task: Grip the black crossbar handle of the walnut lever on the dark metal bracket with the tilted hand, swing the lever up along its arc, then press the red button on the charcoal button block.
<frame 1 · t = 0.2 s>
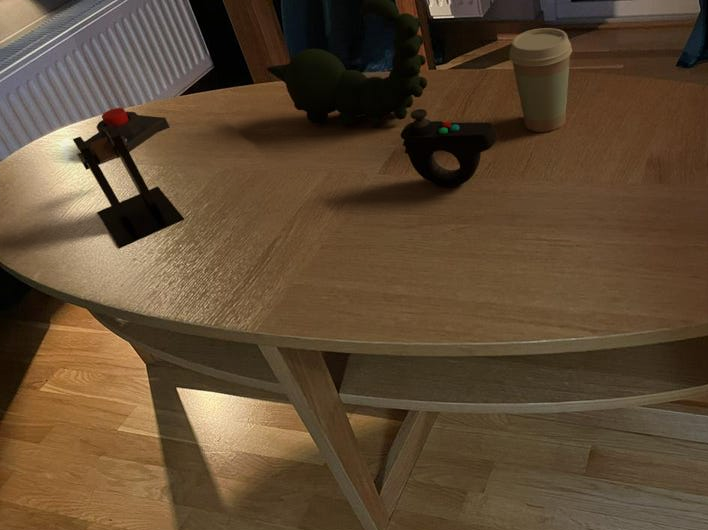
controller: (456, 184, 94), on the table
coffee cup: (545, 123, 103), on the table
toy figurine: (359, 121, 111), on the table
bracket: (143, 222, 97), on the table
button: (115, 118, 113), point 4 cm above the table, slide at 0.1 cm
lever: (102, 153, 94), point 9 cm above the table, hinge at -25.0°
button block: (128, 143, 117), on the table
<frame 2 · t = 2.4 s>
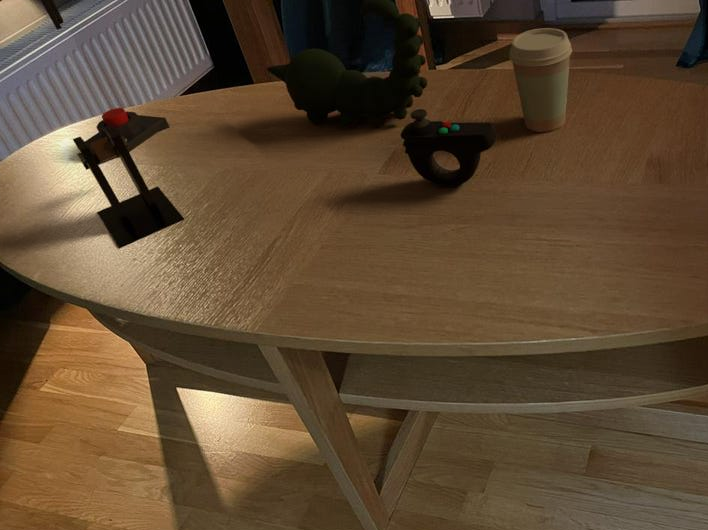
hand: (26, 36, 95), 21 cm above the table, tool tilted 45°, fingers open, 8 cm apart
nothing on the table moved.
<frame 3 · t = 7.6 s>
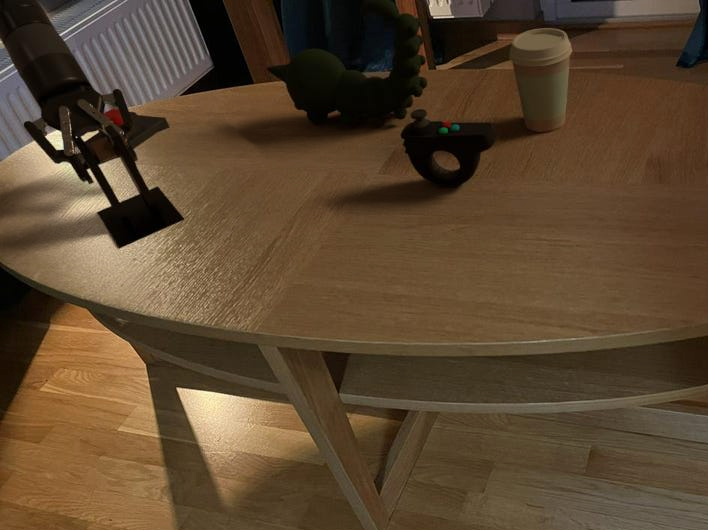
hand: (112, 172, 99), 5 cm above the table, tool tilted 45°, fingers closed on lever, 5 cm apart
lever: (102, 153, 94), point 9 cm above the table, hinge at -25.0°, touching gripper
everything else where it was.
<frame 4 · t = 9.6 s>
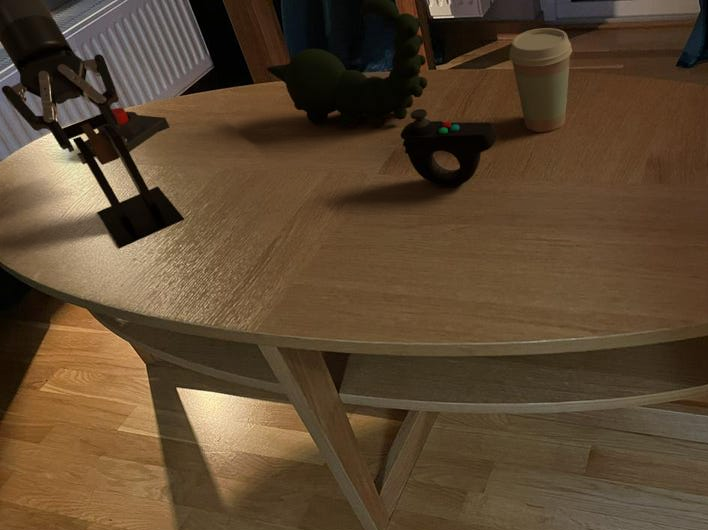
hand: (93, 140, 97), 9 cm above the table, tool tilted 45°, fingers closed on lever, 5 cm apart
lever: (94, 138, 93), point 11 cm above the table, hinge at -1.9°, touching gripper
everything else where it was.
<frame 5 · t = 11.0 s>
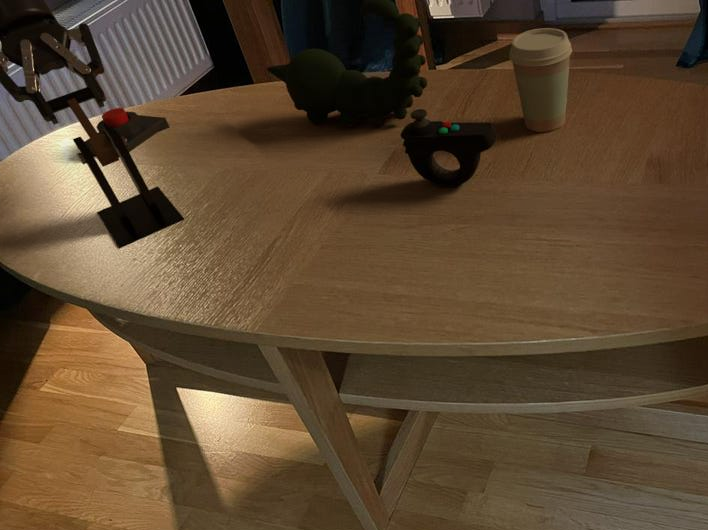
hand: (78, 112, 93), 13 cm above the table, tool tilted 45°, fingers closed on lever, 5 cm apart
lever: (87, 125, 92), point 13 cm above the table, hinge at 19.2°, touching gripper
everything else where it was.
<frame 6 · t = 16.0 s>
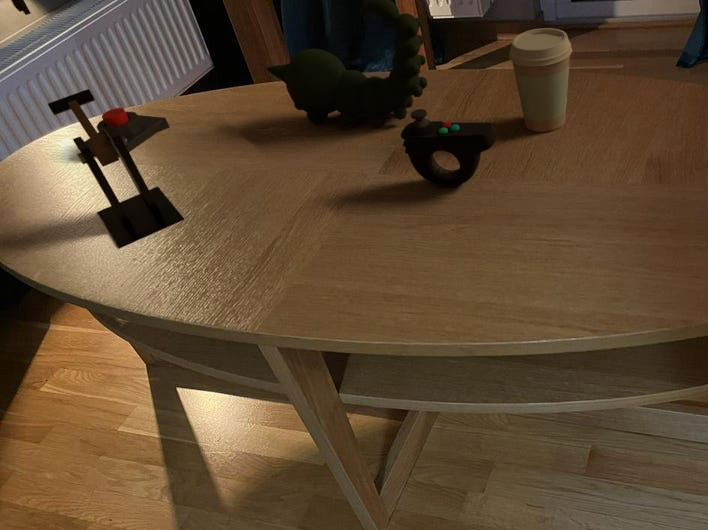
hand: (55, 4, 102), 22 cm above the table, tool pointing down, fingers open, 7 cm apart
lever: (87, 126, 92), point 13 cm above the table, hinge at 17.5°
everything else where it was.
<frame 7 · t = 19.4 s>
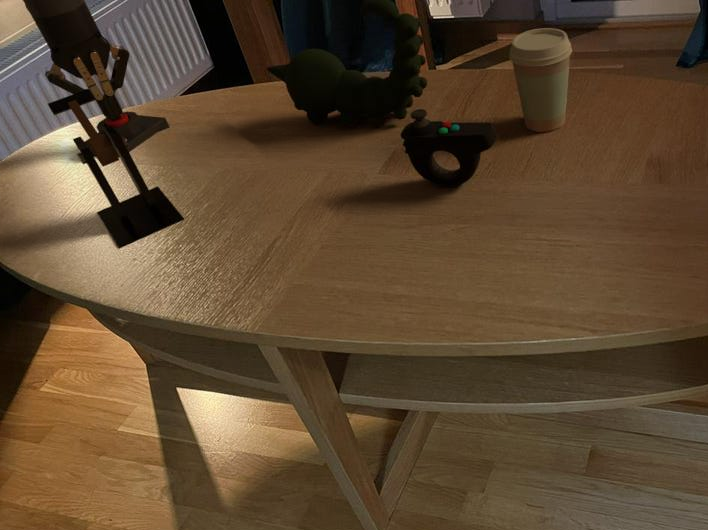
hand: (116, 118, 113), 4 cm above the table, tool pointing down, fingers closed
button: (118, 123, 114), point 4 cm above the table, slide at -0.8 cm, touching gripper
everything else where it was.
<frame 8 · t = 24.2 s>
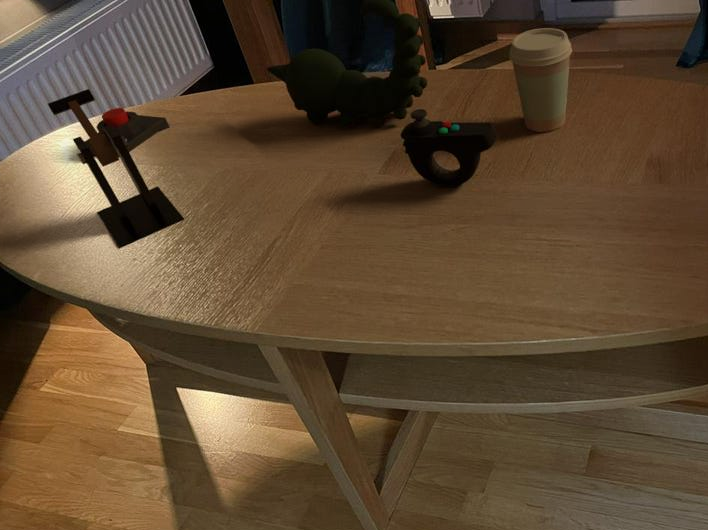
button: (115, 118, 113), point 4 cm above the table, slide at 0.1 cm
everything else where it was.
at the end: lever at +18° (first picture: -25°); button pushed in 1.1 cm at the most during the clip, back to where it started at the end; button slide at 0.1 cm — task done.
